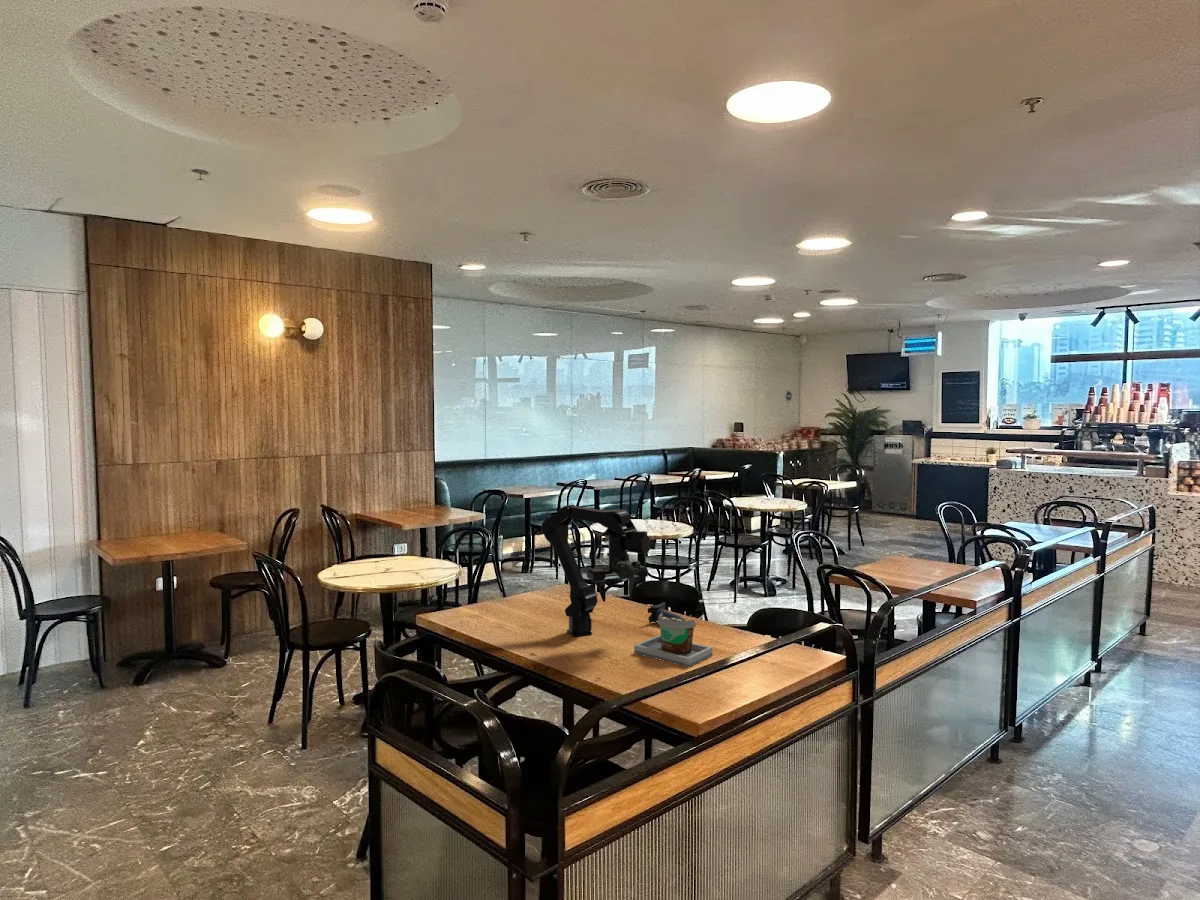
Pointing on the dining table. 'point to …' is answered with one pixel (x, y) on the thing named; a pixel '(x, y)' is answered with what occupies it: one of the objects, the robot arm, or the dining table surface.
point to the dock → (654, 650)
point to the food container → (676, 634)
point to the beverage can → (658, 610)
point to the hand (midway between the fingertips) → (617, 600)
